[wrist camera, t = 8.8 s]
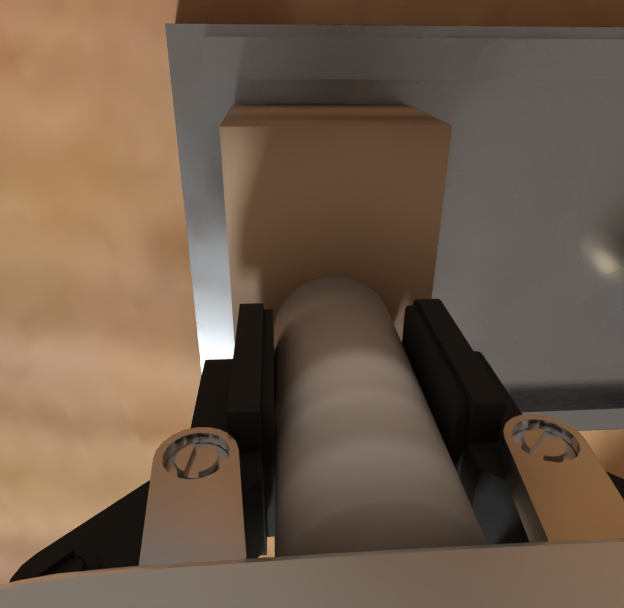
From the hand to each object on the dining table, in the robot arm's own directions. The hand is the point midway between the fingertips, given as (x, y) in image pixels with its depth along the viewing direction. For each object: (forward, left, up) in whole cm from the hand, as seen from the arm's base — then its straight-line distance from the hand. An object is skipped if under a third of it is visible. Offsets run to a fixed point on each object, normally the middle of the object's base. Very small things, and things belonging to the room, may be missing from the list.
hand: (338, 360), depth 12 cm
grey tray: (0, +6, -7) cm, 9 cm away
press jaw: (0, 0, -5) cm, 5 cm away
